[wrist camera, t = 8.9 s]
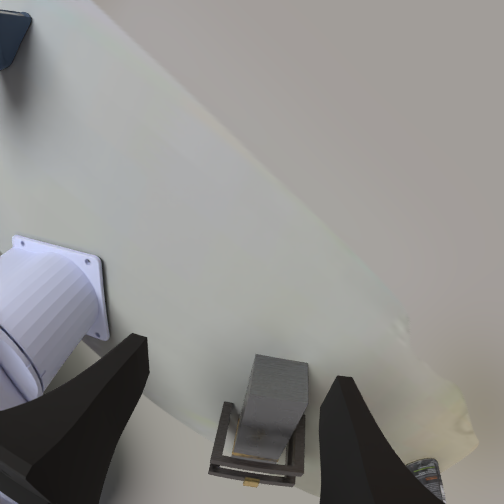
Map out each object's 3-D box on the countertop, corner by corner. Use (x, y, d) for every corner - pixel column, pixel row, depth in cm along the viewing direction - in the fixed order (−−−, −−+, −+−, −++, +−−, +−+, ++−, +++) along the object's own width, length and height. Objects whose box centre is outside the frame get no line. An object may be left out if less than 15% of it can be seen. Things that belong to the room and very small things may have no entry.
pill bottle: (387, 476, 32) (393, 546, 21) (415, 456, 29) (428, 532, 19) (417, 476, 32) (426, 541, 22) (445, 457, 29) (460, 526, 19)
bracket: (223, 406, 26) (209, 463, 21) (224, 401, 26) (210, 459, 21) (302, 419, 26) (300, 476, 21) (305, 415, 26) (303, 473, 20)
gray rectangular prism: (236, 427, 28) (230, 460, 24) (255, 353, 23) (248, 394, 20) (277, 434, 28) (274, 467, 24) (308, 363, 23) (308, 403, 19)
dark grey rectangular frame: (220, 421, 28) (207, 478, 22) (221, 415, 27) (207, 473, 21) (294, 434, 27) (291, 491, 22) (297, 428, 27) (295, 486, 21)
